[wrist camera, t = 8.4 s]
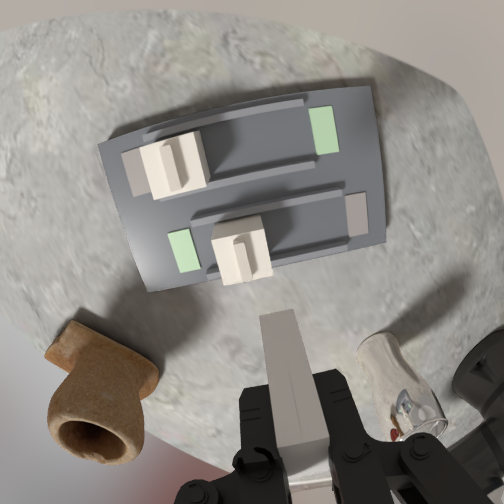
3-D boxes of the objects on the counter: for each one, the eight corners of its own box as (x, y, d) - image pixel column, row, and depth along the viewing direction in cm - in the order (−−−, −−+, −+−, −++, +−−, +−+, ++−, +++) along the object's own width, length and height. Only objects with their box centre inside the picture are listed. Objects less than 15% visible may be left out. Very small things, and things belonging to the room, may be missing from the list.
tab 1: (199, 130, 23) (191, 132, 19) (210, 176, 25) (205, 189, 21) (153, 143, 23) (135, 148, 19) (165, 188, 25) (151, 203, 21)
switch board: (361, 87, 24) (375, 84, 21) (378, 234, 30) (390, 246, 28) (106, 142, 25) (92, 145, 22) (152, 282, 31) (145, 298, 28)
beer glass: (341, 361, 38) (377, 456, 24) (375, 322, 35) (428, 415, 22) (376, 372, 39) (415, 456, 26) (408, 337, 37) (460, 419, 23)
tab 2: (259, 212, 27) (264, 232, 22) (268, 254, 28) (274, 280, 24) (214, 222, 27) (210, 244, 22) (225, 263, 28) (223, 290, 24)
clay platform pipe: (178, 353, 35) (161, 461, 22) (142, 399, 39) (122, 487, 25) (69, 290, 31) (6, 380, 18) (50, 347, 35) (6, 428, 21)
